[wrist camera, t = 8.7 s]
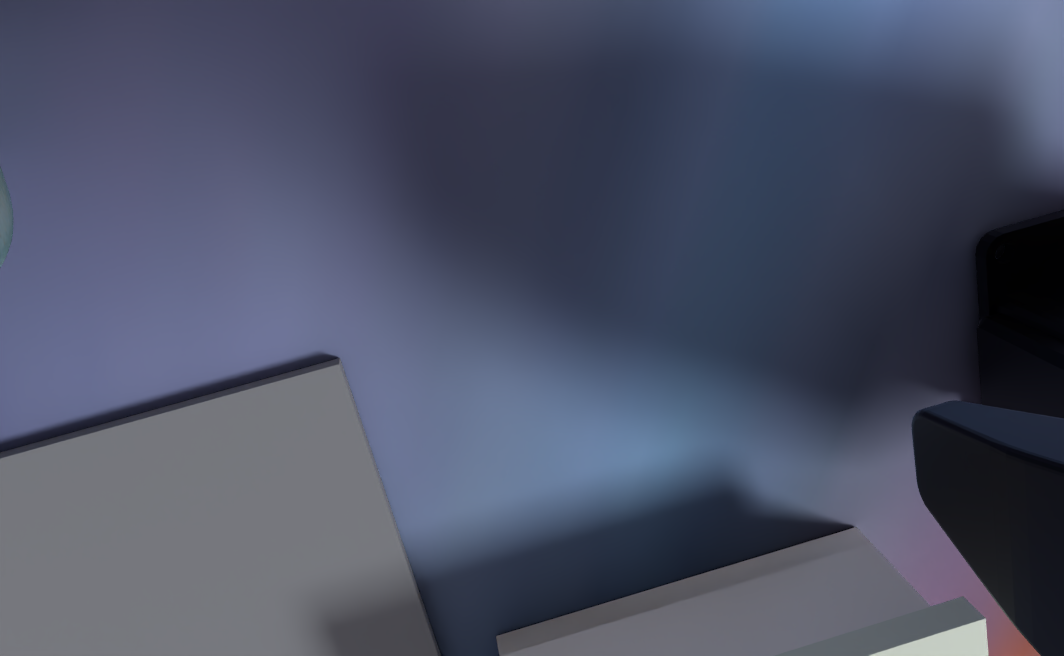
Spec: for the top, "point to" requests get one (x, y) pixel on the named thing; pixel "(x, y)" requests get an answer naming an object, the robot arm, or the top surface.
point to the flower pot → (5, 219)
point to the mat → (209, 533)
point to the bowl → (737, 607)
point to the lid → (912, 635)
